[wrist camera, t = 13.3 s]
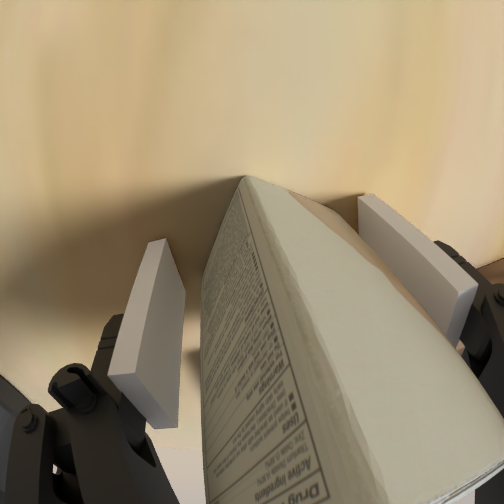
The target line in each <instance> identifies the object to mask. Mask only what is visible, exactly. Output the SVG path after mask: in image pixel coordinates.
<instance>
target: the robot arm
mask: <svg viewBox="0 0 504 504" xmlns="http://www.w3.org/2000/svg"><path fill="white" fill-rule="evenodd" d="M357 198H358V233H359V236H360V237H361V238H362V239H363V240H364V241H365V242H366V243H367V244H368V246H369V247H370V248H371V249H372V250H373V251H374V252H375V253H376V254H377V255H378V257H379V258H380V259H381V260H382V261H383V262H384V263H385V264H386V265H387V267H388V268H389V269H390V270H391V271H392V272H393V273H394V274H395V275H396V277H397V278H398V279H399V280H400V281H401V282H402V283H403V284H404V286H405V287H406V288H407V289H408V290H409V292H410V293H411V294H412V295H413V296H414V297H415V298H416V300H417V301H418V302H419V303H420V304H421V305H422V307H423V308H424V309H425V310H426V312H427V313H428V314H429V315H430V317H431V318H432V319H433V321H434V322H435V323H436V324H437V326H438V327H439V328H440V329H441V331H442V332H443V333H444V335H445V336H446V337H447V339H448V340H449V341H450V342H451V344H452V345H453V346H454V348H455V349H456V347H457V345H458V342H459V340H460V341H461V342H462V343H463V345H464V346H465V349H464V351H463V353H462V355H461V357H462V358H463V360H464V361H465V362H466V364H467V365H468V366H469V368H470V369H471V371H472V372H473V373H474V375H475V376H476V378H477V379H478V380H479V382H480V383H481V385H482V386H483V388H484V389H485V391H486V392H487V394H488V395H489V397H490V398H491V400H492V401H493V403H494V404H495V406H496V407H497V409H498V410H499V412H500V413H501V415H502V417H503V418H504V284H502V283H496V284H491V283H490V282H489V281H488V280H487V279H486V278H485V277H484V276H483V275H482V274H481V273H480V272H479V271H478V270H476V269H475V268H474V267H473V266H472V265H471V264H470V263H469V262H467V261H466V260H465V259H464V258H463V257H462V256H460V255H459V253H458V252H456V251H455V250H454V249H453V248H452V247H451V246H449V245H447V244H445V243H443V242H440V241H434V242H433V241H431V240H430V239H429V238H428V237H427V236H426V235H424V234H423V233H422V232H421V231H420V230H419V229H417V228H416V227H415V226H414V225H413V224H411V223H410V222H409V221H408V220H406V219H405V218H404V217H403V216H402V215H400V214H399V213H398V212H396V211H395V210H394V209H393V208H391V207H390V206H389V205H388V204H386V203H385V202H384V201H382V200H381V199H380V198H378V197H377V196H376V195H374V194H369V195H364V196H359V197H357ZM185 298H186V291H185V288H184V286H183V283H182V280H181V278H180V275H179V272H178V270H177V267H176V264H175V262H174V259H173V256H172V253H171V251H170V248H169V245H168V242H167V239H166V238H165V239H160V240H156V241H152V242H149V243H148V245H147V248H146V251H145V254H144V256H143V259H142V262H141V265H140V268H139V270H138V273H137V276H136V279H135V282H134V285H133V288H132V291H131V294H130V297H129V301H128V304H127V307H126V310H125V313H124V314H119V315H114V316H113V317H112V318H111V319H110V320H109V322H108V323H107V324H106V326H105V327H104V330H103V333H102V336H101V341H100V342H99V345H98V350H97V351H96V355H95V358H94V361H93V364H92V368H91V371H90V370H89V369H88V368H87V367H86V366H84V365H83V364H79V363H73V364H69V365H66V366H65V367H63V368H61V369H60V370H59V371H58V372H57V373H56V374H55V375H54V376H53V378H52V379H51V381H50V383H49V388H48V393H49V394H50V395H51V396H52V397H53V398H54V399H55V400H56V401H57V402H58V403H59V404H60V405H61V406H62V407H63V408H61V409H58V410H55V411H52V412H49V413H48V412H47V411H46V410H45V409H44V408H42V407H41V406H40V405H38V404H31V403H30V402H29V401H28V400H27V399H26V398H25V397H24V396H23V395H22V394H20V393H19V392H18V391H17V390H16V389H15V388H14V387H13V386H11V385H10V384H9V383H8V382H7V381H6V380H4V379H3V378H2V377H1V376H0V504H180V503H179V501H178V499H177V497H176V495H175V493H174V491H173V489H172V487H171V485H170V483H169V481H168V479H167V476H166V474H165V472H164V470H163V467H162V465H161V463H160V460H159V458H158V456H157V453H156V451H155V448H154V446H153V443H152V441H151V439H150V437H149V436H148V434H147V433H146V432H145V426H146V421H147V422H148V423H149V424H150V425H151V426H152V427H153V428H154V429H164V428H178V408H179V384H180V365H181V349H182V334H183V321H184V309H185ZM53 464H54V465H55V466H57V472H56V474H54V473H53ZM475 504H504V468H503V469H502V470H501V471H500V472H498V473H497V474H496V475H495V476H493V477H492V478H491V479H489V480H488V481H487V482H485V483H484V484H482V485H481V486H480V487H478V488H477V489H475Z"/></svg>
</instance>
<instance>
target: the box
mask: <svg viewBox="0 0 504 504" xmlns="http://www.w3.org/2000/svg"><path fill="white" fill-rule="evenodd" d="M200 328H201V332H200V383H201V427H202V452H203V470H204V484H205V496H206V504H454V503H455V502H457V501H458V500H460V499H462V498H463V497H465V496H466V495H468V494H469V493H471V492H472V491H474V490H475V489H477V488H478V487H480V486H481V485H482V484H484V483H485V482H487V481H488V480H489V479H491V478H492V477H493V476H495V475H496V474H497V473H498V472H500V471H501V470H502V469H503V468H504V418H503V417H502V415H501V413H500V412H499V410H498V409H497V407H496V406H495V404H494V403H493V401H492V400H491V398H490V397H489V395H488V394H487V392H486V391H485V389H484V388H483V386H482V385H481V383H480V382H479V380H478V379H477V378H476V376H475V375H474V373H473V372H472V371H471V369H470V368H469V366H468V365H467V364H466V362H465V361H464V360H463V358H462V357H461V356H460V354H459V353H458V352H457V350H456V349H455V348H454V346H453V345H452V344H451V342H450V341H449V340H448V339H447V337H446V336H445V335H444V333H443V332H442V331H441V329H440V328H439V327H438V326H437V324H436V323H435V322H434V321H433V319H432V318H431V317H430V315H429V314H428V313H427V312H426V310H425V309H424V308H423V307H422V305H421V304H420V303H419V302H418V301H417V300H416V298H415V297H414V296H413V295H412V294H411V293H410V292H409V290H408V289H407V288H406V287H405V286H404V284H403V283H402V282H401V281H400V280H399V279H398V278H397V277H396V275H395V274H394V273H393V272H392V271H391V270H390V269H389V268H388V267H387V265H386V264H385V263H384V262H383V261H382V260H381V259H380V258H379V257H378V255H377V254H376V253H375V252H374V251H373V250H372V249H371V248H370V247H369V246H368V244H367V243H366V242H365V241H364V240H363V239H362V238H361V237H360V236H359V235H358V234H357V232H356V231H355V230H354V229H353V228H352V227H351V226H350V225H349V224H348V223H347V222H346V221H345V220H344V219H343V218H342V217H341V216H340V215H339V214H338V213H337V212H336V211H334V210H332V209H330V208H327V207H325V206H323V205H321V204H319V203H317V202H315V201H313V200H310V199H308V198H306V197H303V196H301V195H299V194H296V193H294V192H292V191H289V190H287V189H284V188H281V187H279V186H276V185H274V184H271V183H268V182H265V181H263V180H260V179H257V178H254V177H251V176H244V177H243V178H242V179H241V181H240V183H239V185H238V187H237V189H236V191H235V194H234V196H233V198H232V200H231V202H230V205H229V207H228V209H227V212H226V214H225V217H224V219H223V222H222V224H221V227H220V230H219V232H218V235H217V238H216V240H215V243H214V245H213V248H212V250H211V253H210V256H209V259H208V262H207V265H206V268H205V271H204V274H203V276H202V280H201V323H200Z"/></svg>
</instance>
